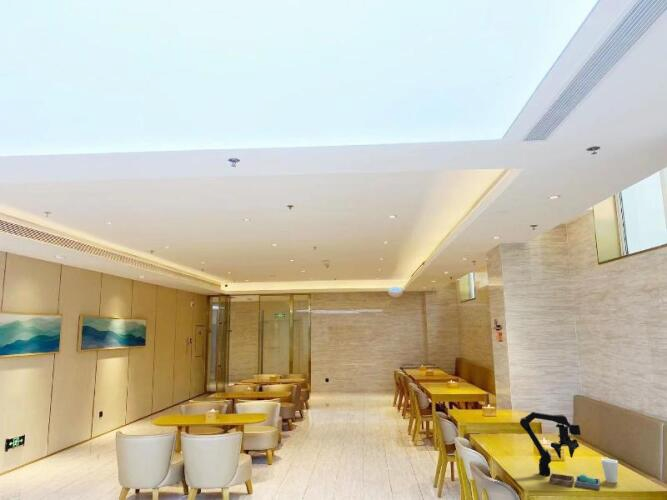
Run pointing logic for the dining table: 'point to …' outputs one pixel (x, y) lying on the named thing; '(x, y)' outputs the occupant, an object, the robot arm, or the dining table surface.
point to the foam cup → (610, 469)
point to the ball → (583, 478)
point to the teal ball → (591, 481)
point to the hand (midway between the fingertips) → (565, 458)
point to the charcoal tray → (588, 484)
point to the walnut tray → (562, 480)
